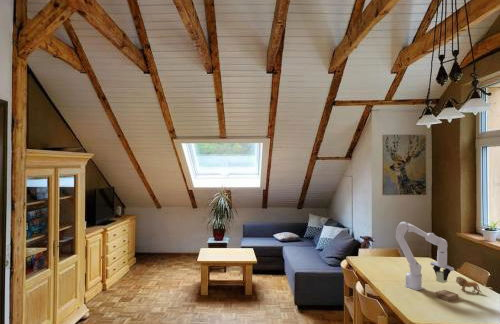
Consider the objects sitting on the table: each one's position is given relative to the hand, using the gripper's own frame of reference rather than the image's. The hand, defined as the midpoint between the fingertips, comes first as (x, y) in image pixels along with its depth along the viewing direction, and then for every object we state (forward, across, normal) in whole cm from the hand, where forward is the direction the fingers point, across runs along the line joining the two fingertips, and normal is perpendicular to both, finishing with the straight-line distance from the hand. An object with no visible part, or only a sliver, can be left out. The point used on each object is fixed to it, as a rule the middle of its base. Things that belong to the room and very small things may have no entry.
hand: (441, 279), depth 239 cm
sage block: (+2, 0, 0) cm, 2 cm away
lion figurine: (+9, -8, -17) cm, 20 cm away
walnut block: (+9, -8, +7) cm, 14 cm away
